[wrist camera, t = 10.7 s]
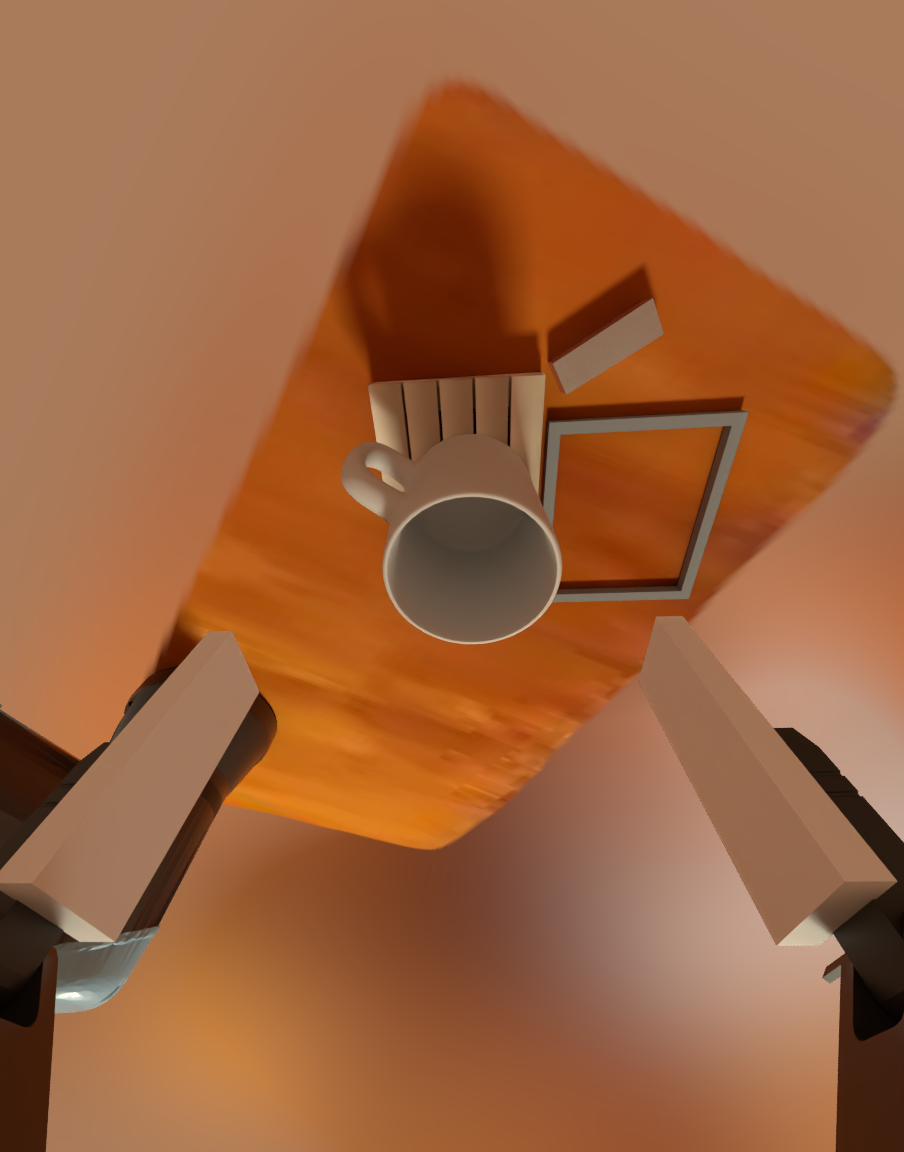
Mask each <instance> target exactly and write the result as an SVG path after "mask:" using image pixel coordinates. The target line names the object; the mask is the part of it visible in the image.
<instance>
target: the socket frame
mask: <svg viewBox="0 0 904 1152" xmlns="http://www.w3.org/2000/svg"><path fill="white" fill-rule="evenodd" d="M748 413H749V412H747V411H743V410H734V411H716V412H697V413H679V414H660V415H642V416H623V417H605V418H587V419H568V420H550V421H547V432H546V447H545V461H544V476H543V491H542V506H543V508H544V510H545V512H546V515H547V517H548V519H549V521H550V523H551V526H553V515H554V503H555V492H556V480H557V468H558V457H559V445H560V435H563V434H582V433H601V432H620V431H640V430H659V429H678V428H697V427H717V426H724V429H723V432H722V436H721V439H720V442H719V446H718V449H717V453H716V456H715V459H714V463H713V466H712V469H711V473H710V476H709V480H708V483H707V486H706V490H705V493H704V496H703V500H702V503H701V506H700V510H699V513H698V517H697V520H696V523H695V527H694V530H693V533H692V537H691V540H690V544H689V547H688V550H687V554H686V557H685V560H684V564H683V567H682V570H681V574H680V577H679V581H678V584H677V586H657V587H621V588H586V589H558V590H557V593H556V595H555V597H554V599H553V601H552V602H580V601H619V600H657V599H689V596H690V593H691V590H692V587H693V584H694V580H695V577H696V574H697V571H698V568H699V565H700V562H701V559H702V556H703V553H704V549H705V546H706V543H707V540H708V537H709V534H710V531H711V528H712V525H713V522H714V518H715V515H716V512H717V509H718V506H719V503H720V500H721V497H722V494H723V491H724V487H725V484H726V481H727V478H728V475H729V472H730V469H731V466H732V463H733V460H734V456H735V453H736V450H737V447H738V444H739V441H740V438H741V435H742V432H743V429H744V425H745V422H746V419H747V416H748Z"/></svg>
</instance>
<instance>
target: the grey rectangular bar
mask: <svg viewBox="0 0 904 1152" xmlns="http://www.w3.org/2000/svg"><path fill="white" fill-rule="evenodd" d="M663 334H664V333H663V330H662V327H661V323H660V320H659V317H658V313H657V310H656V307H655V303H654V300H653V298H651V299H647V300H642V301H640V302H638V303H637V304H635V305H634V306H632V307H631V308H629V309H628V310H626V311H625V312H623V313H622V314H620V315H619V316H617V317H616V318H614V319H613V320H611V321H610V322H608V323H607V324H605V325H604V326H602V327H600V328H599V329H597V330H596V331H594V332H593V333H591V334H590V335H588V336H587V337H585V338H584V339H582V340H581V341H579V342H578V343H576V344H575V345H573V346H572V347H570V348H569V349H567V350H566V351H564V352H563V353H561V354H560V355H558V356H556V357H555V358H553V359H552V360H550V361H549V362H548V364H549V366H550V368H551V371H552V373H553V375H554V378H555V380H556V382H557V384H558V387H559V389H560V391H561V392H563V393H564V394H568V393H570V392H571V391H573V390H574V389H576V388H578V387H579V386H581V385H583V384H584V383H586V382H587V381H589V380H591V379H592V378H594V377H595V376H597V375H599V374H600V373H602V372H603V371H605V370H607V369H608V368H610V367H612V366H613V365H615V364H616V363H618V362H620V361H621V360H623V359H624V358H626V357H628V356H629V355H631V354H632V353H634V352H636V351H637V350H639V349H640V348H642V347H644V346H645V345H647V344H649V343H650V342H652V341H653V340H655V339H657V338H658V337H660V336H661V335H663Z"/></svg>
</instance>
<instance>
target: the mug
mask: <svg viewBox="0 0 904 1152" xmlns="http://www.w3.org/2000/svg"><path fill="white" fill-rule="evenodd" d="M367 467H371V468H375V469H377V470H380V471H381V472H383V473H385V474H387V475H389V476H390V477H392V478H393V479H395V480H396V481H397V482H399V483H400V484H401V485H402V486H403V488H404V492H402V491H399V490H397V489H395V488H394V487H392V486H390V485H388V484H387V483H385V482H383V481H382V480H380V479H379V478H378V477H376V476H375V475H374V474H373V473H371V472H370V471H369V470H368V468H367ZM341 480H342V483H343V486H344V487H345V489H346V490H347V492H348V493H349V494H350V495H351V496H352V497H353V498H354V499H355V500H356V501H358V502H359V503H360V504H362V505H363V506H365V507H366V508H368V509H369V510H371V511H372V512H374V513H375V514H377V515H379V516H380V517H382V518H383V519H385V520H386V521H387V522H388V523H389V532H388V536H387V541H386V545H385V549H384V554H383V565H382V570H383V579H384V583H385V587H386V590H387V592H388V595H389V597H390V599H391V601H392V602H393V604H394V606H395V607H396V609H397V610H398V611H399V612H400V614H401V615H402V616H403V617H404V618H405V619H406V620H407V621H408V622H410V623H411V624H412V625H414V626H415V627H416V628H418V629H419V630H421V631H423V632H424V633H427V634H429V635H431V636H433V637H436V638H438V639H441V640H445V641H449V642H453V643H461V644H483V643H490V642H495V641H499V640H502V639H505V638H508V637H510V636H513V635H515V634H517V633H519V632H521V631H523V630H524V629H526V628H527V627H529V626H530V625H532V624H533V623H534V622H535V621H536V620H537V619H539V618H540V617H541V616H542V614H543V613H544V612H545V611H546V610H547V608H548V607H549V606H550V604H551V603H552V601H553V599H554V597H555V595H556V593H557V590H558V587H559V584H560V580H561V574H562V558H561V551H560V547H559V544H558V540H557V537H556V535H555V532H554V530H553V528H552V526H551V523H550V521H549V519H548V517H547V515H546V512H545V510H544V508H543V506H542V503H541V501H540V499H539V497H538V494H537V492H536V490H535V488H534V485H533V483H532V480H531V477H530V474H529V472H528V470H527V468H526V466H525V464H524V463H523V461H522V460H521V458H520V457H519V456H518V455H517V454H516V452H515V451H514V450H512V449H511V448H510V447H509V446H508V445H506V444H504V443H503V442H501V441H499V440H497V439H495V438H492V437H489V436H485V435H479V434H463V435H457V436H454V437H450V438H448V439H446V440H443V441H441V442H440V443H438V444H436V445H435V446H434V447H432V448H431V449H430V450H429V451H428V452H427V453H426V454H425V455H424V456H423V457H422V458H421V460H420V461H419V463H416V462H414V461H412V460H410V459H409V458H407V457H406V456H404V455H402V454H401V453H399V452H398V451H396V450H394V449H392V448H390V447H389V446H386V445H384V444H381V443H378V442H365V443H362V444H359V445H358V446H357V447H355V448H354V449H353V450H352V451H351V452H350V453H349V455H348V456H347V458H346V459H345V462H344V464H343V467H342V474H341Z"/></svg>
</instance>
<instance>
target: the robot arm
mask: <svg viewBox="0 0 904 1152" xmlns="http://www.w3.org/2000/svg"><path fill="white" fill-rule="evenodd" d="M639 684H640V686H641V688H642V690H643V692H644V694H645V695H646V697H647V699H648V701H649V703H650V705H651V707H652V709H653V711H654V713H655V715H656V716H657V718H658V720H659V722H660V724H661V726H662V728H663V730H664V732H665V734H666V736H667V737H668V739H669V741H670V743H671V745H672V747H673V749H674V751H675V753H676V755H677V757H678V759H679V760H680V762H681V764H682V766H683V768H684V770H685V772H686V774H687V776H688V777H689V779H690V782H691V783H692V785H693V787H694V789H695V791H696V793H697V795H698V797H699V799H700V801H701V802H702V804H703V806H704V808H705V810H706V812H707V814H708V816H709V818H710V820H711V821H712V823H713V825H714V827H715V829H716V831H717V833H718V835H719V837H720V839H721V841H722V843H723V844H724V846H725V848H726V850H727V852H728V854H729V856H730V858H731V859H732V862H733V864H734V865H735V867H736V869H737V871H738V873H739V875H740V877H741V879H742V881H743V882H744V884H745V886H746V888H747V890H748V892H749V894H750V896H751V898H752V900H753V902H754V904H755V905H756V908H757V909H758V911H759V913H760V915H761V917H762V919H763V921H764V923H765V925H766V927H767V929H768V930H769V932H770V934H771V936H772V938H773V940H774V942H775V944H776V945H777V946H819V945H820V944H822V943H823V942H824V941H825V940H826V939H828V938H829V937H830V936H831V935H833V934H834V935H835V937H836V938H837V940H838V942H839V943H840V945H841V947H842V948H843V950H844V951H845V954H844V955H842V956H841V957H840V958H838V959H837V960H835V961H834V962H833V963H831V964H830V965H829V966H827V967H826V969H825V972H824V975H823V977H822V978H823V979H825V980H826V981H828V982H829V983H831V982H833V981H834V980H836V979H837V978H839V977H840V976H841V985H840V986H841V987H840V1021H839V1057H838V1059H839V1060H838V1091H837V1125H836V1126H837V1127H836V1152H904V842H903V841H902V840H901V839H900V838H899V837H898V836H897V835H896V833H895V832H894V831H893V830H892V829H891V828H890V827H889V826H888V824H887V823H886V822H885V821H884V820H883V819H882V818H881V817H880V815H879V814H878V813H877V812H876V811H875V810H874V809H873V807H872V806H871V805H870V804H869V803H868V802H867V801H866V800H865V798H863V796H859V795H858V791H857V789H856V788H855V787H854V786H853V785H852V784H851V783H850V782H849V780H848V779H847V778H846V777H845V776H842V775H841V774H840V770H839V769H838V768H837V767H836V766H835V765H834V764H833V762H832V761H831V760H830V759H829V758H828V757H827V756H826V754H825V753H824V752H823V751H822V750H821V749H820V748H819V747H818V746H817V745H815V744H814V743H813V742H811V741H810V740H808V739H807V738H806V737H804V736H803V735H802V734H800V733H799V732H797V731H796V730H795V729H794V728H773V727H772V726H771V725H770V723H769V722H768V721H767V720H766V719H765V717H764V716H763V715H762V714H761V712H760V711H759V710H758V709H757V708H756V706H755V705H754V704H753V703H752V701H751V700H750V699H749V698H748V696H747V695H746V694H745V693H744V692H743V690H742V689H741V688H740V686H739V685H738V684H737V683H736V682H735V680H734V679H733V678H732V677H731V675H730V674H729V673H728V672H727V670H726V669H725V668H724V667H723V666H722V664H721V663H720V662H719V661H718V659H717V658H716V657H715V656H714V654H713V653H712V652H711V651H710V649H709V648H708V647H707V646H706V645H705V643H704V642H703V641H702V640H701V638H700V637H699V636H698V635H697V634H696V632H695V631H694V630H693V629H692V627H691V626H690V625H689V624H688V622H687V621H686V620H685V619H684V617H683V616H666V617H656V619H655V623H654V627H653V630H652V634H651V638H650V641H649V645H648V649H647V652H646V656H645V660H644V663H643V667H642V671H641V674H640V678H639ZM258 694H259V690H258V687H257V685H256V683H255V681H254V679H253V676H252V674H251V672H250V670H249V667H248V665H247V663H246V661H245V659H244V656H243V654H242V652H241V650H240V648H239V645H238V643H237V641H236V639H235V637H234V634H233V632H232V631H216V632H208V633H207V634H206V635H205V636H204V637H203V639H202V640H201V641H200V642H199V643H198V644H197V645H196V647H195V648H194V649H193V650H192V651H191V652H190V654H189V655H188V656H187V657H186V658H185V659H184V660H183V662H182V663H181V664H180V665H179V666H178V667H177V668H170V669H165V670H162V671H159V672H156V673H154V674H153V675H151V676H150V677H149V678H147V679H146V680H145V681H144V683H143V684H142V685H141V686H140V687H139V688H138V689H137V690H136V691H135V692H134V693H133V694H132V696H131V697H130V699H129V701H128V703H127V705H126V707H125V712H124V714H125V715H124V716H123V718H122V719H121V721H120V723H119V725H118V726H117V728H116V730H115V732H114V734H113V736H112V738H111V740H110V742H105V743H103V744H102V745H100V746H99V747H98V748H96V749H95V750H94V751H92V752H91V753H90V754H88V755H87V756H86V757H85V758H83V759H82V760H80V759H78V758H77V757H75V756H73V755H72V754H70V753H69V752H67V751H65V750H64V749H62V748H61V747H59V746H57V745H56V744H54V743H52V742H51V741H49V740H48V739H46V738H44V737H43V736H41V735H40V734H38V733H37V732H35V731H33V730H32V729H30V728H28V727H27V726H25V725H24V724H22V723H20V722H19V721H17V720H16V719H14V718H13V717H11V716H9V715H8V714H6V713H5V712H3V711H2V710H0V1152H46V1138H47V1122H48V1107H49V1092H50V1076H51V1060H52V1046H53V1031H54V1016H55V1013H70V1012H79V1011H85V1010H89V1009H93V1008H95V1007H98V1006H100V1005H102V1004H103V1003H105V1002H106V1001H108V1000H109V999H110V998H111V997H113V996H114V995H115V994H116V993H117V992H118V991H119V990H120V989H121V987H122V986H123V985H124V984H125V982H126V981H127V979H128V978H129V976H130V974H131V972H132V971H133V969H134V967H135V966H136V964H137V962H138V961H139V959H140V957H141V956H142V954H143V952H144V950H145V949H146V947H147V946H148V944H149V942H150V941H151V939H152V937H153V936H154V935H155V934H156V933H157V931H158V930H159V928H160V926H159V924H160V922H161V920H162V918H163V916H164V914H165V912H166V910H167V908H168V906H169V904H170V903H171V901H172V899H173V897H174V895H175V893H176V891H177V889H178V887H179V885H180V883H181V881H182V880H183V878H184V876H185V874H186V872H187V870H188V868H189V866H190V864H191V862H192V860H193V858H194V857H195V855H196V852H197V851H198V848H199V847H200V845H201V843H202V841H203V839H204V837H205V835H206V834H207V832H208V829H209V828H210V826H211V824H212V822H213V820H214V818H215V816H216V814H217V813H218V811H219V809H220V807H221V805H222V803H223V801H224V800H225V798H226V797H227V796H228V795H229V794H230V793H231V792H232V791H233V789H234V788H235V787H236V786H237V785H238V784H239V783H240V782H241V781H242V780H243V778H244V777H245V776H246V775H247V774H248V773H249V772H250V770H251V769H252V768H253V767H254V766H255V765H256V764H257V763H258V762H259V761H260V760H262V758H263V757H264V756H265V754H266V753H267V751H268V749H269V747H270V745H271V743H272V741H273V739H274V737H275V735H276V731H277V723H276V719H275V716H274V714H273V712H272V710H271V708H270V707H269V706H268V704H267V703H266V702H265V701H264V700H263V699H262V698H261V697H260V696H259V695H258ZM1 707H2V705H1V704H0V708H1Z"/></svg>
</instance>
